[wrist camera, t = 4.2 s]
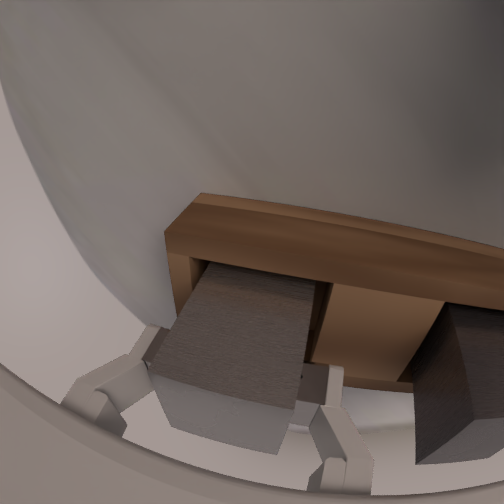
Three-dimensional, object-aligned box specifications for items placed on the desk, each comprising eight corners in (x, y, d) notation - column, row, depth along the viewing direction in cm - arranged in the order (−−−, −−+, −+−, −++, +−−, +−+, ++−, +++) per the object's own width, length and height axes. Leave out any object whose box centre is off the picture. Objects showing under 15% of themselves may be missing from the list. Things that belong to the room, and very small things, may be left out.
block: (438, 275, 12) (474, 419, 6) (502, 287, 11) (549, 411, 5) (407, 336, 14) (415, 464, 8) (467, 342, 13) (488, 457, 7)
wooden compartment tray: (200, 192, 13) (164, 231, 11) (602, 279, 9) (624, 314, 6) (207, 306, 17) (184, 352, 15) (554, 352, 13) (566, 388, 10)
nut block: (224, 237, 13) (146, 371, 8) (319, 253, 12) (293, 410, 7) (226, 305, 15) (171, 426, 10) (304, 320, 15) (276, 454, 9)
